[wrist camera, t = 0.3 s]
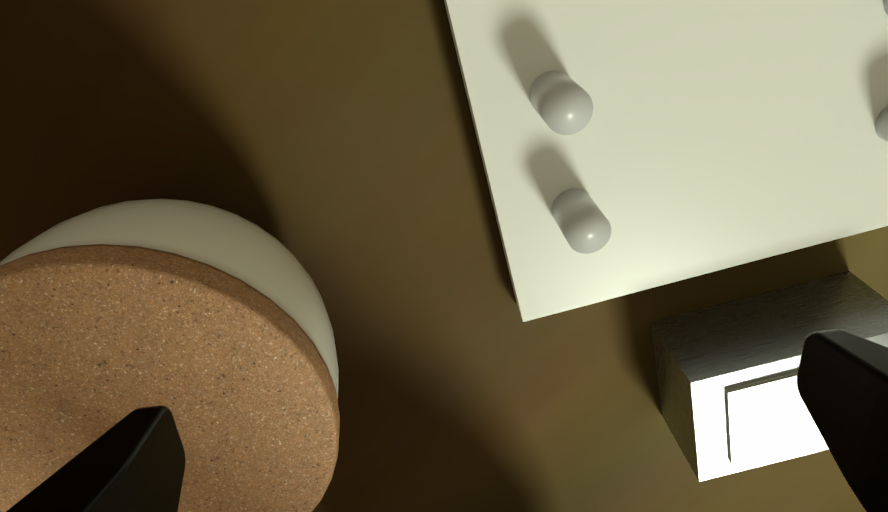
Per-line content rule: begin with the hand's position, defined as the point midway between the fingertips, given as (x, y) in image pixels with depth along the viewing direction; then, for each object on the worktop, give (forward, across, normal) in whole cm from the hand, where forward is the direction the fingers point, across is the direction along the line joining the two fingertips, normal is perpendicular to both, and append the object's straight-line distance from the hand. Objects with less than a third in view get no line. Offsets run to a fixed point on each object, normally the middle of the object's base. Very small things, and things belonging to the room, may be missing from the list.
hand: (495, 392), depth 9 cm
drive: (+14, -12, +11) cm, 22 cm away
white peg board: (+14, -10, 0) cm, 17 cm away
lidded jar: (+14, +9, +5) cm, 18 cm away
